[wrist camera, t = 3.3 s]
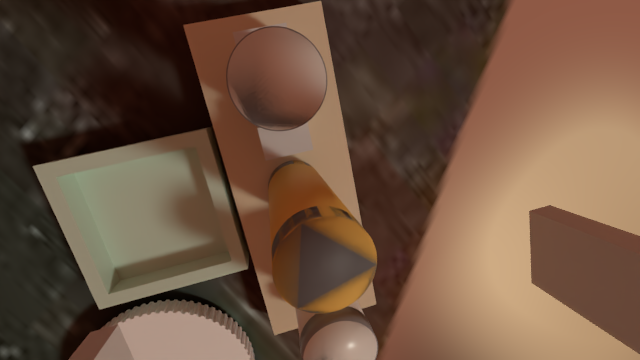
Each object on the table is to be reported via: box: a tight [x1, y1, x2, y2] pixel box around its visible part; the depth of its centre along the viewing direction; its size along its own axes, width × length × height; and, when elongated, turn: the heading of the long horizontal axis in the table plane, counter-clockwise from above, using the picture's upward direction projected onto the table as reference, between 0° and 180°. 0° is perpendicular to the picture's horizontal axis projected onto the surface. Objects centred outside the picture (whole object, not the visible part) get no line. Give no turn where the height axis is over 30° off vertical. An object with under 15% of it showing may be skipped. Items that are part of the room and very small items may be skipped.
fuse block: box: [183, 1, 378, 360], centre depth 20 cm, size 24×9×12 cm, turn 12°
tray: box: [33, 127, 250, 310], centre depth 23 cm, size 11×11×2 cm
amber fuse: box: [268, 160, 377, 314], centre depth 17 cm, size 4×4×12 cm
